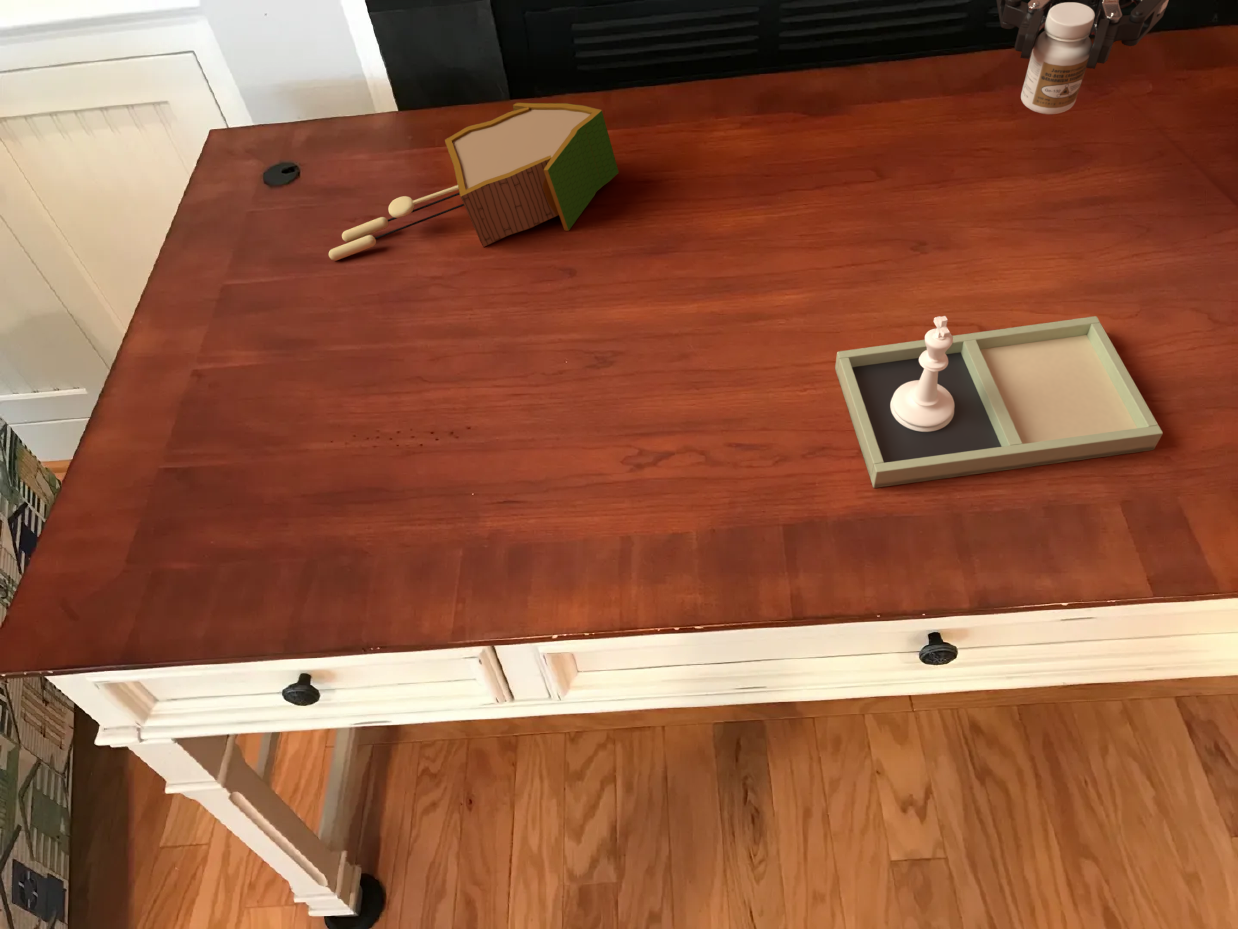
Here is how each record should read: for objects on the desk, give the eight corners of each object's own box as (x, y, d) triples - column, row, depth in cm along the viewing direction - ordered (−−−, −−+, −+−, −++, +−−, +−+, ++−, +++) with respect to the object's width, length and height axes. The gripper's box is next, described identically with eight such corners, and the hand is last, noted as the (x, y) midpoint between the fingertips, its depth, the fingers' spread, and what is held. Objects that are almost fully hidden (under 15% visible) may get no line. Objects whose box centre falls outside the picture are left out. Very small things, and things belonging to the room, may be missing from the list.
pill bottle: (1035, 121, 82) (1060, 33, 76) (1010, 92, 84) (1031, 5, 78) (1085, 109, 82) (1113, 20, 76) (1058, 81, 85) (1083, -7, 78)
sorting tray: (1089, 333, 83) (1096, 315, 81) (1153, 450, 75) (1163, 433, 73) (834, 368, 83) (836, 351, 81) (873, 488, 75) (876, 472, 74)
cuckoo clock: (352, 315, 97) (635, 207, 97) (315, 260, 91) (618, 144, 90) (337, 238, 104) (602, 137, 104) (302, 182, 98) (584, 74, 97)
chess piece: (938, 379, 80) (961, 288, 72) (964, 424, 77) (991, 334, 69) (880, 392, 80) (897, 303, 72) (904, 438, 77) (924, 350, 69)
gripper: (1021, -107, 85) (976, -6, 76) (1201, -90, 80) (1176, 19, 72) (1002, -21, 91) (959, 81, 82) (1169, -1, 86) (1142, 110, 78)
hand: (1060, 52), depth 77 cm, fingers closed on pill bottle, 4 cm apart
